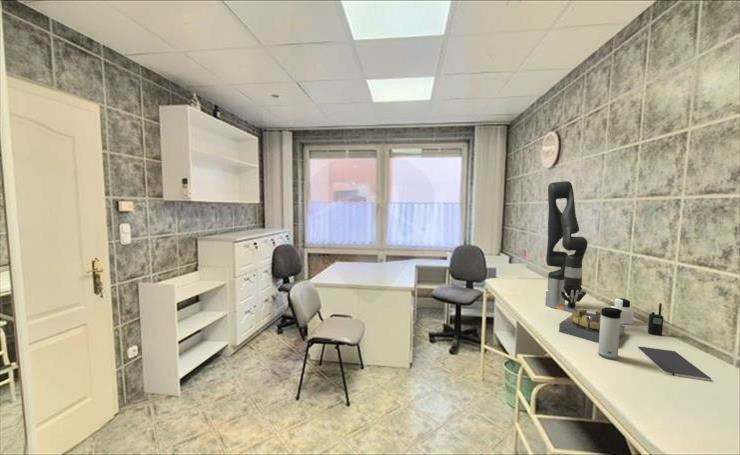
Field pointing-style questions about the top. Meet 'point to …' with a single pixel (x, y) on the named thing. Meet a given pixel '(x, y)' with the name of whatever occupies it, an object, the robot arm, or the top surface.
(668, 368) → the notebook
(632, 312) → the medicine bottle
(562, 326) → the domed button plate
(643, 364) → the top surface
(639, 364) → the top surface
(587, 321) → the segmented ring
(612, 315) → the travel mug
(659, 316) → the walkie-talkie
